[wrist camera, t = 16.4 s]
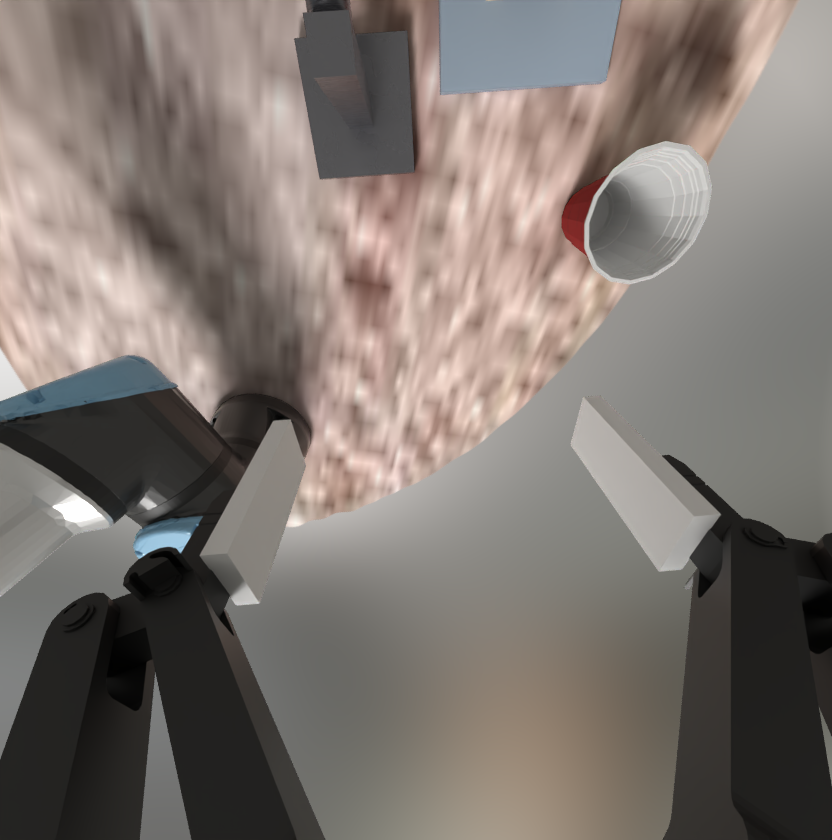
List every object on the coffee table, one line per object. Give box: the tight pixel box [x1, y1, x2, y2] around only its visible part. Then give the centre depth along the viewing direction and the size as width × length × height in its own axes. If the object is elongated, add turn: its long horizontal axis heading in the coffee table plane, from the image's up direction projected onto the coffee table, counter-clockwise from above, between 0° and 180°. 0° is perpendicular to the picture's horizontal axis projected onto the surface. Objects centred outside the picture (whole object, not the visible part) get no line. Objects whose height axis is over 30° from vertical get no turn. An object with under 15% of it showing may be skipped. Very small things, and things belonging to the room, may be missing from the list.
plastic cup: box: [562, 141, 712, 284], centre depth 34 cm, size 11×11×12 cm
